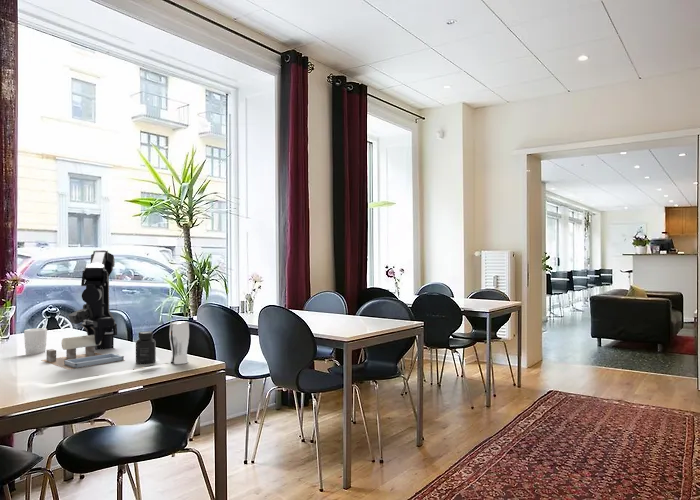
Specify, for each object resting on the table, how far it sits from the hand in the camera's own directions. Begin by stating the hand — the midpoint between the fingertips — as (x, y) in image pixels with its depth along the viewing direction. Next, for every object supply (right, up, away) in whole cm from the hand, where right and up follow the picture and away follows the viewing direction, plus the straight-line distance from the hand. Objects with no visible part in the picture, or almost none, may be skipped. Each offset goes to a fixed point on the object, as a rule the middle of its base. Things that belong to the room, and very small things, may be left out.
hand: (94, 344), depth 192 cm
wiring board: (-6, -8, +4) cm, 10 cm away
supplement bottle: (+19, -8, 0) cm, 20 cm away
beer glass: (+29, -8, +4) cm, 31 cm away
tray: (0, -7, 0) cm, 7 cm away
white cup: (-33, -8, +19) cm, 39 cm away
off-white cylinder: (-3, 0, -4) cm, 5 cm away
